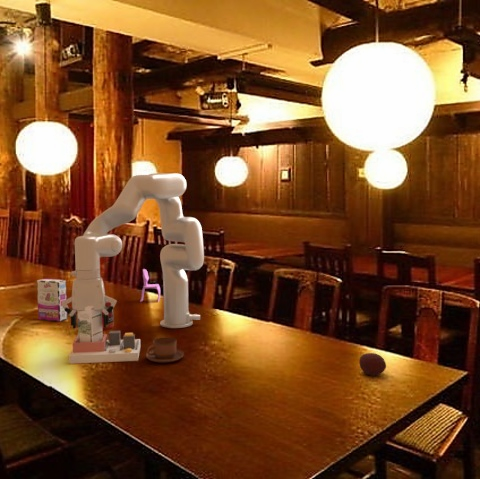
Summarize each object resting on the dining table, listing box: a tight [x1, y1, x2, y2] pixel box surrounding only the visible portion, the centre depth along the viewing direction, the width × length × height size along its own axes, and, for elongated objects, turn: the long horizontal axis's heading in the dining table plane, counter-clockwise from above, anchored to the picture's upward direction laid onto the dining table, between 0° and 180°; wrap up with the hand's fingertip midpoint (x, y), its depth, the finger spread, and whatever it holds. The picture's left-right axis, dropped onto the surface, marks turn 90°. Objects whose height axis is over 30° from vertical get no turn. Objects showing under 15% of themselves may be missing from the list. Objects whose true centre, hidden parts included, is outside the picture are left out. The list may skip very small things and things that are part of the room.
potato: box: [358, 352, 387, 376], centre depth 168 cm, size 7×8×6 cm
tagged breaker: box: [122, 332, 136, 349], centre depth 187 cm, size 3×3×5 cm
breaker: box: [108, 330, 122, 345], centre depth 191 cm, size 3×3×4 cm
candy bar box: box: [36, 278, 68, 323], centre depth 236 cm, size 11×5×16 cm, turn 68°
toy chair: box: [139, 268, 161, 303], centre depth 272 cm, size 8×9×15 cm
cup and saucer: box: [145, 337, 185, 364], centre depth 183 cm, size 12×12×6 cm
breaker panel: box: [68, 333, 141, 364], centre depth 188 cm, size 21×16×6 cm
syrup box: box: [76, 306, 103, 342], centre depth 187 cm, size 6×6×14 cm
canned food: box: [102, 300, 115, 331], centre depth 223 cm, size 8×8×11 cm
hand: (90, 326), depth 187 cm, fingers open, 9 cm apart
